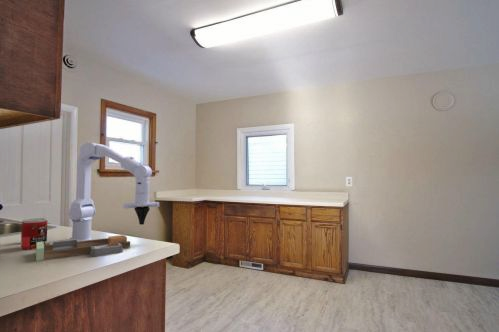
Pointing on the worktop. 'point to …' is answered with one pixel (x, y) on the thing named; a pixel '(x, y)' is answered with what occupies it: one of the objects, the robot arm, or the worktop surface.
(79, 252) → the track
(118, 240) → the block
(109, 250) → the traps
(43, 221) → the canned food
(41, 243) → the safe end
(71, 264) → the worktop surface
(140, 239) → the worktop surface
